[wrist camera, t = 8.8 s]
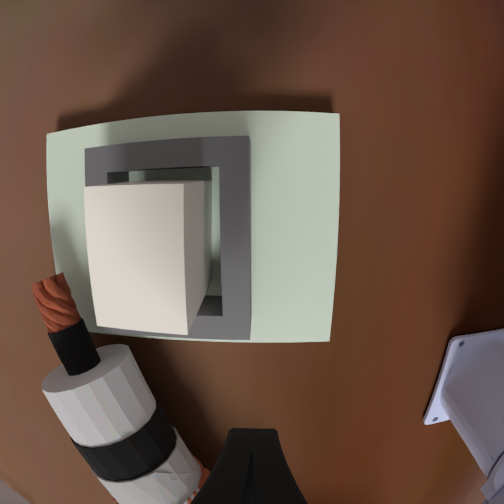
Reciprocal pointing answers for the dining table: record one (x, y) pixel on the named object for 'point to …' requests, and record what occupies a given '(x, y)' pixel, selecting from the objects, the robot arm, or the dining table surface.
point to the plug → (149, 252)
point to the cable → (113, 410)
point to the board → (219, 213)
